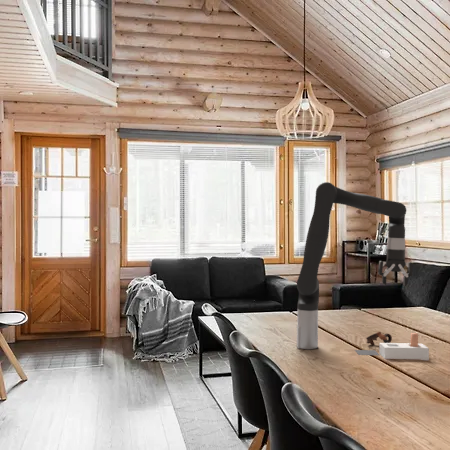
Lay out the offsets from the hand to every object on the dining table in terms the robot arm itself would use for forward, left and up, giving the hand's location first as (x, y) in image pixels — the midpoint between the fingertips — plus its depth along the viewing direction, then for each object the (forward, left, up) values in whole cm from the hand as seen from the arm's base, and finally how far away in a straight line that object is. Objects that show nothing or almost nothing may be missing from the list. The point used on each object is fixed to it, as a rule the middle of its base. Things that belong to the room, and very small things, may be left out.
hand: (394, 285), depth 238 cm
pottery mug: (-4, +10, -30) cm, 32 cm away
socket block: (+2, -8, -29) cm, 31 cm away
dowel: (+6, -8, -29) cm, 31 cm away
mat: (-12, -2, -29) cm, 32 cm away
